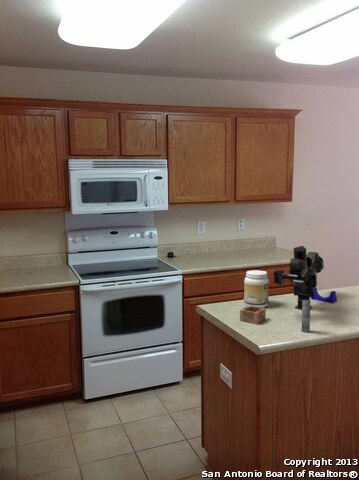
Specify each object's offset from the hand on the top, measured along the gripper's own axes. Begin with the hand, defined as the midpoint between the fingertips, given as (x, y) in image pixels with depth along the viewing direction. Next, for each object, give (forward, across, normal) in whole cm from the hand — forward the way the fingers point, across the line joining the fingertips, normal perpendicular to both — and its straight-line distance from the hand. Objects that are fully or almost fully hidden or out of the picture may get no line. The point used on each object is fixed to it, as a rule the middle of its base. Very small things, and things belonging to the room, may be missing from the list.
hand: (290, 287), depth 181 cm
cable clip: (-37, +6, +27) cm, 46 cm away
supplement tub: (-14, -22, +21) cm, 34 cm away
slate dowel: (+10, +8, +14) cm, 19 cm away
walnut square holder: (+7, -16, +15) cm, 23 cm away
